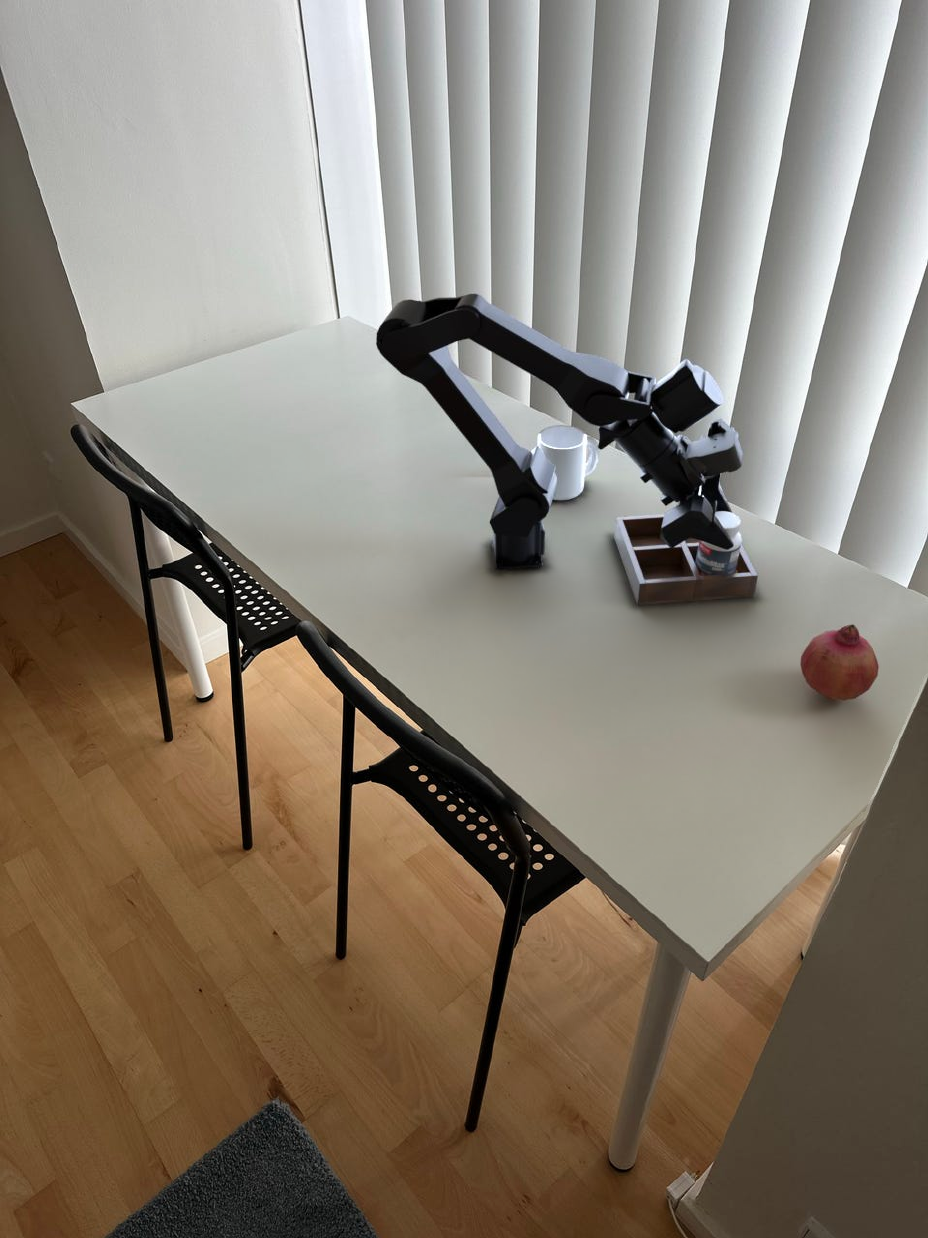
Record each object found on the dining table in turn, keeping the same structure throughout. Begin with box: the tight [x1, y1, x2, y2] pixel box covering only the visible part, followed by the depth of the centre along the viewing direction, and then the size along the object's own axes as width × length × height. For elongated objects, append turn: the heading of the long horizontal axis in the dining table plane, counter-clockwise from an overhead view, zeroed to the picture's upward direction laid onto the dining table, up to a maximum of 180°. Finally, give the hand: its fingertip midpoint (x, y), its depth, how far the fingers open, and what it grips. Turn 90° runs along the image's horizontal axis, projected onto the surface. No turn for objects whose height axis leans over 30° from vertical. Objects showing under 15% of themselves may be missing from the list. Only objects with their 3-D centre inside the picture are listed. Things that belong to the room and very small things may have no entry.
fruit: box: [799, 623, 879, 701], centre depth 107 cm, size 8×8×10 cm
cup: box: [537, 424, 600, 501], centre depth 143 cm, size 7×10×9 cm
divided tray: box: [613, 513, 759, 606], centre depth 128 cm, size 15×15×4 cm
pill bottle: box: [695, 511, 743, 576], centre depth 124 cm, size 5×5×9 cm
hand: (732, 535), depth 122 cm, fingers closed on pill bottle, 5 cm apart
